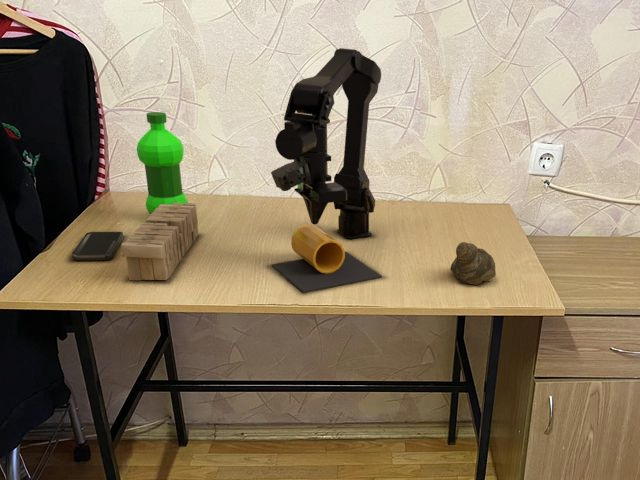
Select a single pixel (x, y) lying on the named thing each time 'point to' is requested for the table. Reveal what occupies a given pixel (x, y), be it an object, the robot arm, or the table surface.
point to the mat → (314, 280)
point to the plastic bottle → (161, 163)
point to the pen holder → (318, 248)
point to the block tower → (161, 241)
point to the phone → (98, 246)
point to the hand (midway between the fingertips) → (314, 223)
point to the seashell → (473, 264)
